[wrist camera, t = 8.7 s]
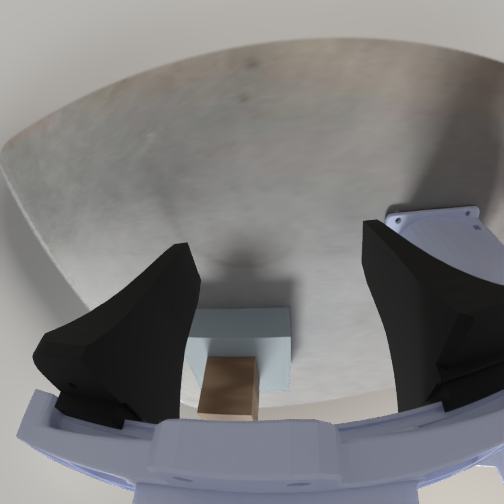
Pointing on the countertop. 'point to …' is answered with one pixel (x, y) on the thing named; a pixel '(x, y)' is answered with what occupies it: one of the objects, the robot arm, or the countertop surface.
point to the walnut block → (230, 389)
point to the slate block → (243, 342)
